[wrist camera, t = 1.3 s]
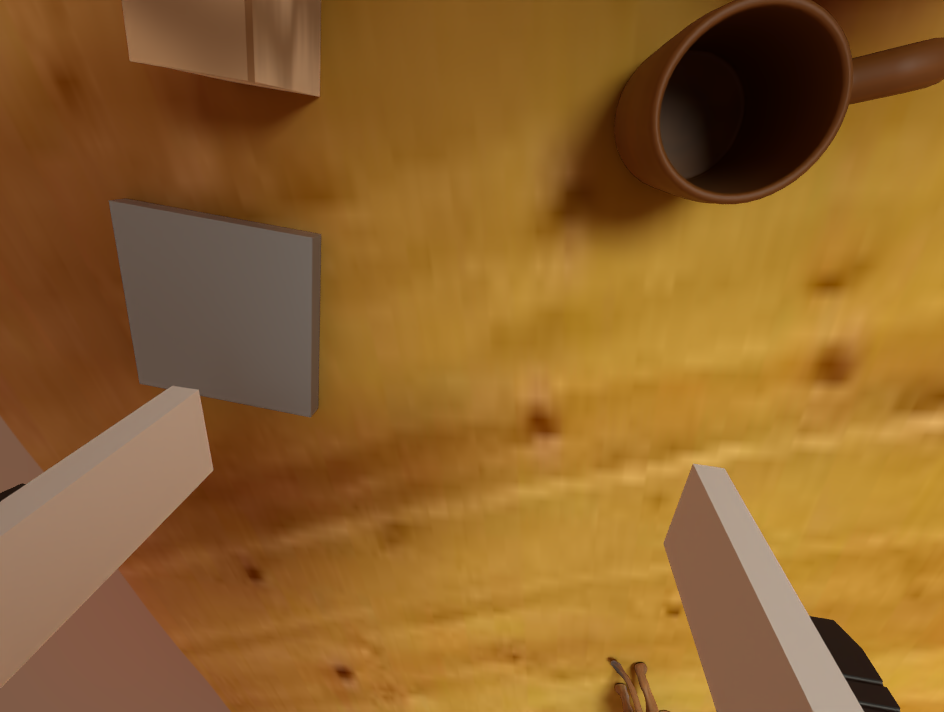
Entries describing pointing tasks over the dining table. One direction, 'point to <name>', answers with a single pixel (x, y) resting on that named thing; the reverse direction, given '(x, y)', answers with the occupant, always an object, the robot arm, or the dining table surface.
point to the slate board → (221, 304)
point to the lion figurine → (622, 689)
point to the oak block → (230, 40)
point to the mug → (753, 98)
